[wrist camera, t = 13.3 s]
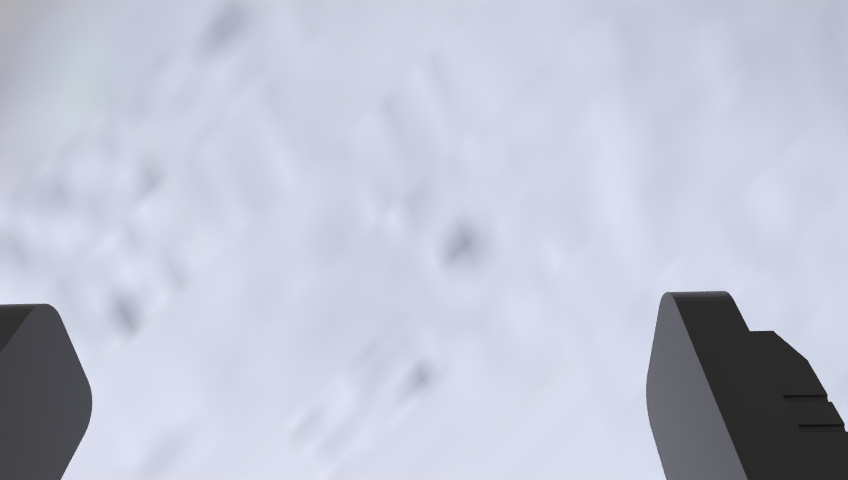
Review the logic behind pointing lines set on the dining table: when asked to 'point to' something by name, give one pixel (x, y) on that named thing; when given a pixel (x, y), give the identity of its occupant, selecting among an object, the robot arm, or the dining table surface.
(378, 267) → the dining table surface
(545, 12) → the dining table surface
